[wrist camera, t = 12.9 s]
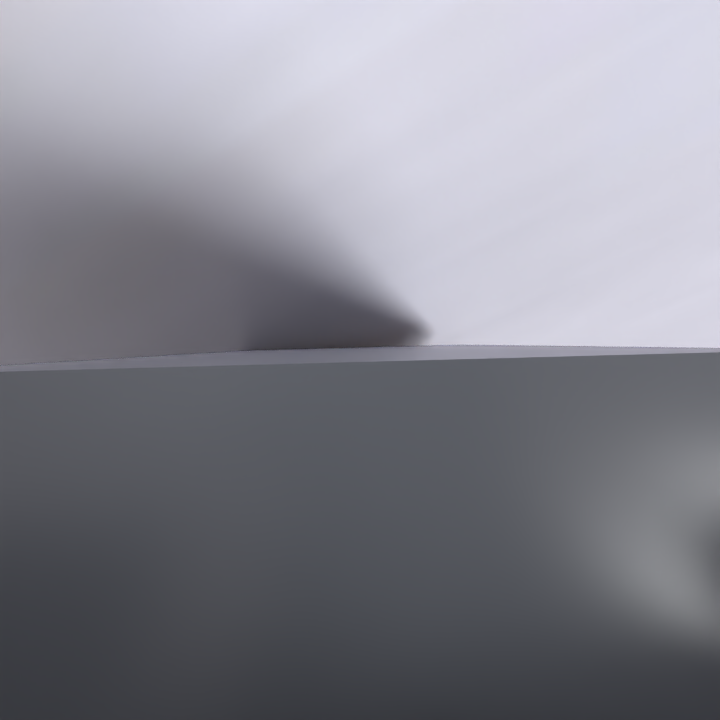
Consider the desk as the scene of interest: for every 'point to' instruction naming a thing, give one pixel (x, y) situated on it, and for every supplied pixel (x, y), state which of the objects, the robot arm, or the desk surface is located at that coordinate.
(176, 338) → the desk surface
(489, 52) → the desk surface
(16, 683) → the matte grey cube
